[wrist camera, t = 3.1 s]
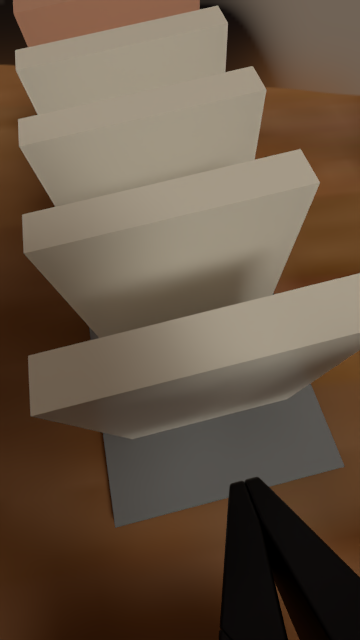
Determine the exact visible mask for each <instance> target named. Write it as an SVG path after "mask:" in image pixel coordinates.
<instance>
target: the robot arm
mask: <svg viewBox="0 0 360 640" xmlns="http://www.w3.org/2000/svg"><path fill="white" fill-rule="evenodd" d="M274 581H275V582H274ZM275 584H276V586H277V588H278V591H279V593H280V595H281V598H282V600H283V602H284V605H285V607H286V609H287V611H288V614H289V616H290V618H291V621H292V623H293V625H294V628H295V630H296V632H297V635H298V637H299V639H300V640H360V577H359V576H358V575H357V574H356V573H355V572H354V571H353V570H352V569H351V568H350V567H349V566H348V565H347V564H346V563H345V562H344V561H343V560H342V559H341V558H340V557H339V556H338V555H337V554H336V553H335V552H334V551H333V550H332V549H331V548H330V547H329V546H328V545H327V544H326V543H325V542H324V541H323V540H322V539H321V538H320V537H319V536H318V535H317V534H316V533H315V532H314V531H313V530H312V529H311V528H310V527H309V526H308V525H307V524H306V523H305V522H304V521H303V520H302V519H301V518H300V517H299V516H298V515H297V514H296V513H295V512H294V511H293V510H292V509H291V508H290V507H289V506H288V505H287V504H286V503H284V502H283V501H282V500H281V499H280V498H279V497H278V496H277V495H276V494H275V493H274V492H273V491H272V490H271V489H270V488H269V487H268V486H267V485H266V484H265V483H264V482H263V481H262V480H261V479H260V478H259V477H253V478H249V479H246V480H245V482H244V481H238V482H234V483H231V484H230V486H229V500H228V514H227V529H226V544H225V558H224V573H223V587H222V602H221V617H220V629H221V630H220V631H219V640H288V638H287V634H286V629H285V625H284V621H283V616H282V612H281V608H280V603H279V599H278V595H277V590H276V586H275Z"/></svg>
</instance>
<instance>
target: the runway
mask: <svg viewBox="0 0 360 640" xmlns="http://www.w3.org/2000/svg"><path fill="white" fill-rule="evenodd" d="M273 295H274V294H273ZM89 330H90V338H91V340H94V339H98V338H99V337H98V336H97V335H96V334H95V333H94V331H93V330H92V329H91V328H90V327H89ZM103 438H104V445H105V453H106V461H107V468H108V476H109V484H110V491H111V499H112V507H113V514H114V522H115V528H116V527H120V526H123V525H127V524H131V523H135V522H138V521H142V520H146V519H150V518H153V517H157V516H161V515H165V514H168V513H172V512H176V511H180V510H183V509H187V508H191V507H195V506H198V505H202V504H206V503H210V502H213V501H217V500H221V499H225V498H228V497H229V486H230V484H231V483H234V482H238V481H244V482H245V480H246V479H249V478H253V477H259V478H260V479H261V480H262V481H263V482H264V483H265V484H266V485H267V486H268V487H270V486H273V485H277V484H281V483H285V482H288V481H292V480H296V479H300V478H303V477H307V476H311V475H315V474H318V473H322V472H326V471H330V470H333V469H337V468H341V467H345V466H344V464H343V461H342V459H341V457H340V454H339V452H338V449H337V447H336V444H335V442H334V440H333V437H332V435H331V432H330V430H329V427H328V425H327V423H326V420H325V418H324V415H323V413H322V410H321V408H320V406H319V403H318V401H317V398H316V396H315V393H314V391H313V389H312V386H311V384H309V385H307V386H306V387H304V388H303V389H301V390H300V391H298V392H297V393H295V394H294V395H292V396H291V397H290V398H288V399H286V400H282V401H278V402H274V403H270V404H266V405H263V406H259V407H255V408H251V409H247V410H243V411H239V412H236V413H232V414H228V415H224V416H220V417H216V418H212V419H209V420H205V421H201V422H197V423H193V424H189V425H185V426H181V427H178V428H174V429H170V430H166V431H162V432H158V433H154V434H151V435H147V436H143V437H139V438H135V439H129V438H125V437H121V436H116V435H112V434H107V433H103Z"/></svg>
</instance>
